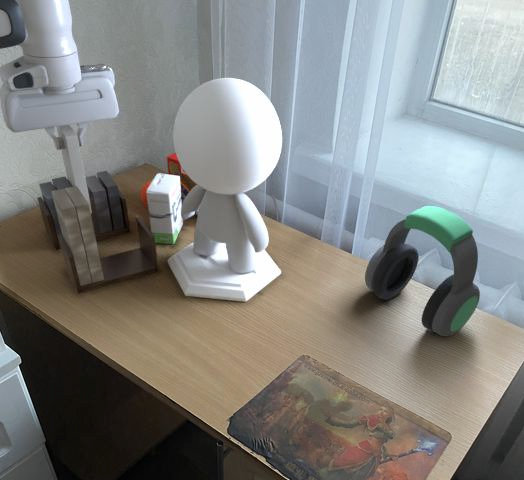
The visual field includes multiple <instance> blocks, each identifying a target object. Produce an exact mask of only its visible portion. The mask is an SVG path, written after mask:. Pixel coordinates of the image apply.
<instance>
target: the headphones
mask: <svg viewBox="0 0 524 480" xmlns="http://www.w3.org/2000/svg"><path fill="white" fill-rule="evenodd" d="M411 229H412V230H418V231H420V232H423V233H425V234H427V235H429V236H430V237H432V238H434V239H435V240H436V241H438V242H439V243H440V244H441V245H442V246H443V247H444V249H446V251H447V252H448V253H449V254H450V257H451V259H452V264H453V265H452V266H453V274H451V275H449V276H448V277H446V278H445V279H444V280H443V281H442V282H441V283H439V285H438V286H437V287H436V288H435V290H434V291H433V292H432V294H431V295H430V297H429V298H428V300H427V302H426V305H425V307H424V308H423V311H422V315H421V324H422V326H423V327H424V328H425V329H426V330H428V331H430V332H433V333H435V334H437V335H440V336H441V337H450V336H453V335H454V334H456V333H457V332H458V331H460V330H461V329H462V328H463V327H464V326H465V325H466V324H467V322H469V320H470V319H471V317H472V316H473V314H474V313H475V311H476V309H477V307H478V304H479V302H480V296H481V292H480V288H479V286H478V285H477V284H475V283H474V282H475V281H474V280H475V277H476V275H477V268H478V263H479V252H478V246H477V242H476V239H475V237H474V235H473V232H474V230H473V228H472V227H471V226H470V225H469V223H467V222H466V221H465V219H463V218H462V217H461V216H459V215H457V214H456V213H453V212H452V211H450V210H448V209H445V208H442V207H439V206H434V205H425V206H422V207H421V208H418V209H416V210H414V211H411V212H410V213H408V214H407V215H406V217H405V219H402V220H400V221H398V222H397V223H396V224H395V225H394V226H393V227H392V228H391V230H390V231H389V232H388V234H387V236H386V239H385V241H384V244H382V246H380V247H379V248H378V249H377V250H376V251H375V252H374V254H373V255H372V257H371V258H370V259H369V262H368V264H367V266H366V269H365V272H364V281H365V285H366V287H367V288H368V289H369V290H370V291H372V292H373V293H374V295H375V296H377V298H379V299H381V300H386V301H387V300H390V299H393V298H394V297H396V296H397V295H398V294H400V293H401V292H402V291H403V290H404V289H405V288H406V286H407V285H408V284H409V282H410V281H411V280H412V277H413V276H414V274H415V272H416V270H417V267H418V264H419V257H420V255H419V252H418V250H417V248H416V247H414V246H412V245H411V244H409V243H406V240H407V237H408V236H409V233H410V231H411Z"/></svg>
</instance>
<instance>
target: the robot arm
mask: <svg viewBox="0 0 524 480" xmlns="http://www.w3.org/2000/svg"><path fill="white" fill-rule="evenodd" d="M72 28H73V16H72V10H71V6H70V1H69V0H0V50H3V49H7V48H12V47H15V46H19V47H21V50H22V54H23V55H22V56H19V57H18V58H16V59H13V60H11V61H9V62H7V63H5V64H2V65H1V66H0V80H1V82H2V84H1V86H0V107H1V112H2V118H3V121H4V124H5V127H6V128H7V129H8V130H10V131H11V132H12V133H21V132H28V131H36V130H42V129H44V130H45V131H46V133H47V134H48V136H49V137H50V138H51V139H52V140H53V144H54V146H55V149H56V150H57V151H61V149H65V146H64V141H63V139H62V138H61V137H58V136H57V135H55V133H56V129H55V128H56V127H57V126H64V125H70V126H71V125H76V126H77V127H78V128H77V131H76V134H77V136H78V141H79V147H84V146H85V143H84V136H85V134H86V132H87V129H88V126H87V123H91V122H97V121H105V120H110V119H116V118H117V117H118V115H119V113H120V108H119V103H118V99H117V96H116V92H115V88H114V87H115V85H116V79H115V72H114V71H113V69H112V68H111V67H110V66H108V65H106V64H104V63H96V64H85V65H81V64H80V59H79V51H78V46H77V44H76V41H75V39H74V37H73V29H72Z"/></svg>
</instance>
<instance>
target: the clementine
mask: <svg viewBox="0 0 524 480" xmlns="http://www.w3.org/2000/svg"><path fill="white" fill-rule="evenodd" d="M154 178H155V177H152V178H151V180H149V181H146V183H145V184H144V185H143V186H142V188H141V191H140V199H141V202H142V204H143V205H144V206H145V207H146V208H147V209H148V202H147V194H146V192H147V189H148V187H149V186H150V184H151V182H152V181H153V179H154Z"/></svg>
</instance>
